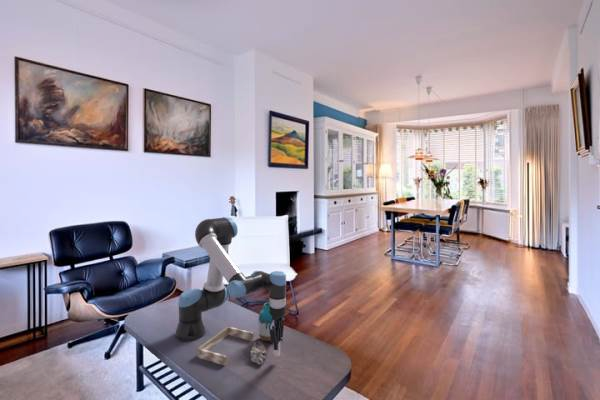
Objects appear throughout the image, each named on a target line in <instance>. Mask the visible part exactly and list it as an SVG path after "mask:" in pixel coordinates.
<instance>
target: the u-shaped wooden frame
mask: <svg viewBox="0 0 600 400" xmlns="http://www.w3.org/2000/svg"><path fill="white" fill-rule="evenodd" d="M228 336H231V337H236V338H240V339H243V340H246V341H251V342H253V341H254V332H253V331H248V330H244V329H240V328H237V327H232V326H228V325H227V327H225V328H224V329H222V330H221V331H220V332H218V333H217V334H215V335H214V336H213V337H211V338H210V339H209V340H207V341H206V342H204V343H203V344H201V345H200V346H199V347H197V348H196V357H197V358H198V357H199V359H201V360H205V361H209V362H212V363H215V364H219V365H222V366H225V367H226V366H227V365H228V356H227V355H225V354H222V353H219V352H215V351H211V349H213V347H215V346H217V344H219V343H220V342H221V341H222V340H224V339H225V338H226V337H228Z"/></svg>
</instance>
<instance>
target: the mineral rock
mask: <svg viewBox="0 0 600 400" xmlns="http://www.w3.org/2000/svg"><path fill="white" fill-rule="evenodd" d="M251 347H252V348H251V349H250V355H249V357H250V361H251V362H252V363H256V364H257V365H262V364H263V363H264V361H265V359H266V358H267V355H268V351H267V349H266V346H265V345H264V344H263V343H262V342H261V341H257V340H255V341H254V342H253V345H252V346H251Z"/></svg>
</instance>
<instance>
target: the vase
mask: <svg viewBox="0 0 600 400" xmlns="http://www.w3.org/2000/svg"><path fill="white" fill-rule="evenodd" d="M269 307H270V305H269V301H268V302H265V303H263V307H262V310H260V312H259V313H258V336H259V338H260V339H261V340H262V341H264V342H271V337H270V330H269V325H271V324H272V322H271V320H272V316H271V315H270V314H269Z"/></svg>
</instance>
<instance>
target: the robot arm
mask: <svg viewBox="0 0 600 400" xmlns="http://www.w3.org/2000/svg"><path fill="white" fill-rule="evenodd" d="M238 229H239V228H238V225H237V223H236V221H235V220H234V219H233V218H232V217H219V218H218V217H217V218H216V217H215V218H206V219H204V220H202V221H200V222H199V223H198V225H197V226H196V228H195V230H194V231H195V233H194V237H195V241H196V243H197V245H198V247H200V249H204V250H205V252H206V254H207V255H208V257H209V264H208V272H207V278H206V281H205V282H204V283H203V287H202V289H200V288H193V289H192V288H191V289H187V290H185V291H183V292H181V294H180V295H179V297H178V303H177V304H178V324H177V327H176V330H175V333H174V334H175V338H176V340H177V341H179V342H192V341H195V340H198V339H200V338H202V337H203V336H205V333H206V326H205V325H204V322H203V319H202V317H203V315H202V314H203V313H204V312H208V311H209V310H213V309H215V308H219V307H220V306H222V305H224V304H225V303H226V301H227V299H228V295H229V296H230V298H233V299H238V298H241V297H244V296H246V295H249V294H252V293H255V292H258V291H261V290H264V291H268V292H269V301H268V302H269V305H270V307H269V314H270V315H271V316H272V320H271V322H272V324H271V325H269V330H270V337H271V341H270V343H271V344H273V356H275V357H280V356H281V342H283V340H284V339H283V337H284V327H285V320H286V313H287V312H286V305H287V299H286V297H287V295H286V294H287V274H286V273H285V272H284V271H282V270H281V271H278V270H275V271H271V272H270V273H268V272H265V271H262V270H255V271H253V272H252V273H251V274H250V275H248V276H245V274H244V273H243V272H242V271H241V269H240V268H239V267H238V266H237V264H236V263H235V261H234V260H233V259H232V257H231V256H230V255H229V253H228V247H229V246H230V245H231V244H232V240H233V239H234V238H235V237H236V236H237V235H238ZM224 279H225V280H226V281H227V283H228V284H227V287H226V286H225V284H224V282H223V281H224Z"/></svg>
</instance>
